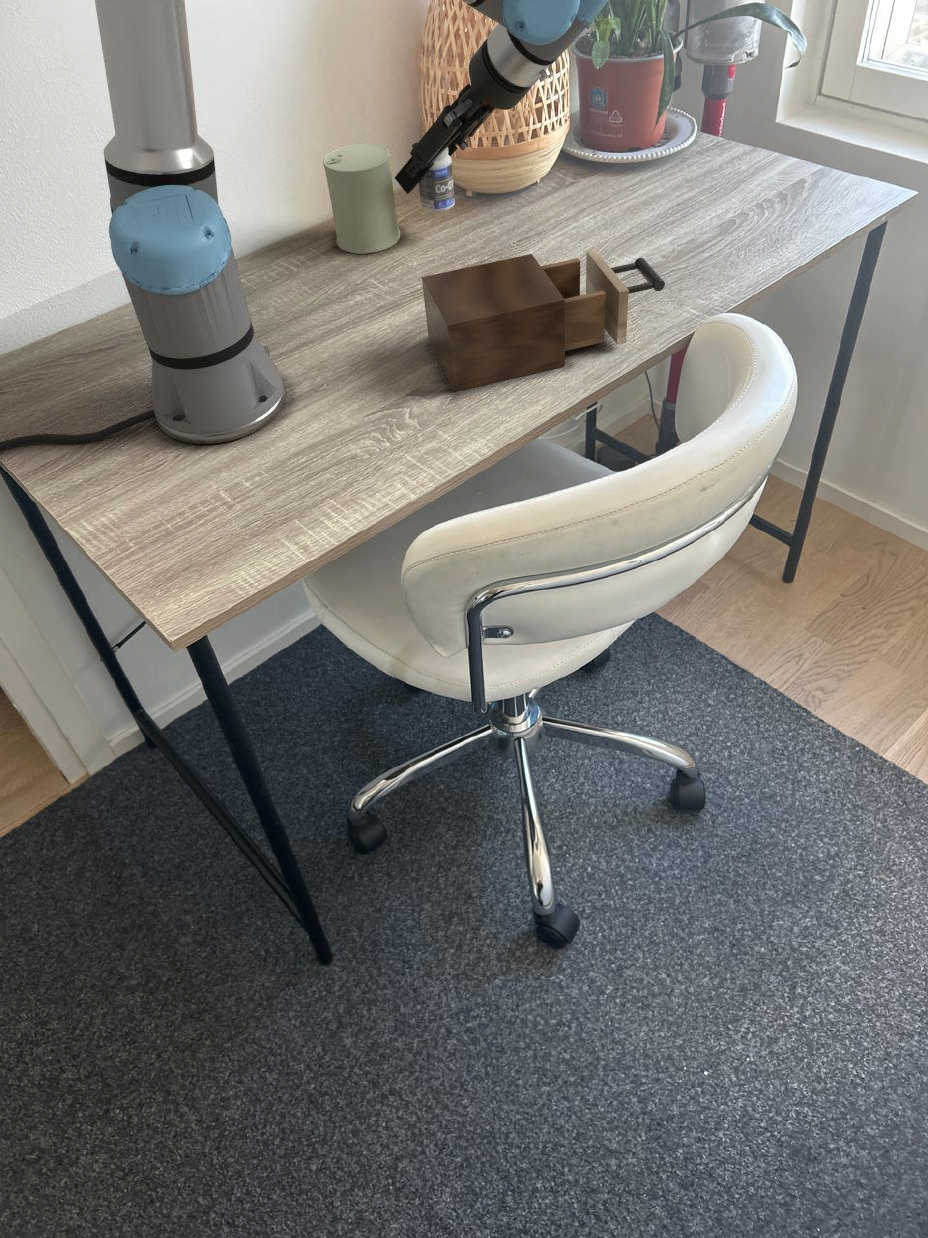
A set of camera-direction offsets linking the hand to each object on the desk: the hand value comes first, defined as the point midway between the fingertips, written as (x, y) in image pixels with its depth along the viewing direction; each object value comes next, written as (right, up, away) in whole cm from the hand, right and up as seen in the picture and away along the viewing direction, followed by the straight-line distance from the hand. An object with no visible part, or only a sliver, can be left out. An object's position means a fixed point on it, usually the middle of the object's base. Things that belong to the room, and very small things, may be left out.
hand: (414, 176), depth 135 cm
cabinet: (+11, -29, -18) cm, 36 cm away
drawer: (+21, -26, -17) cm, 37 cm away
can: (-7, -7, +6) cm, 11 cm away
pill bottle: (+3, -4, +1) cm, 5 cm away
